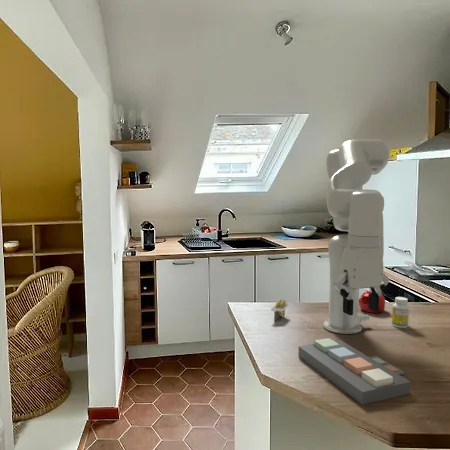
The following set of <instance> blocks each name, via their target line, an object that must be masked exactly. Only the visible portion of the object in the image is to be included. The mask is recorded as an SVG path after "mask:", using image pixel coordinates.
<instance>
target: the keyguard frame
mask: <svg viewBox="0 0 450 450" xmlns="http://www.w3.org/2000/svg"><path fill="white" fill-rule="evenodd" d="M334 341H335V342H336V343H338V344H339V348H341V347H345V348H346V349H348V350H349V351H351V352H353V353H354V354H355V358H358V357H361V358H363V359H364V360H366V361H367V362H369V363H371V364H372V365H373V369H377V368H379V369H381V370H382V371H384V372H385V373H387V374H389V375H390V376H392V377H393V384H391V385H386V386H382V387H377V388H375V387H373V386H372V385H370V384H369V383H368V382H366V381H365V380H363V379H362V374H358V375H356V374H354V373H353V372H351V371H350V370H348V369H347V368H345V367H344V362H343V363H338V362H336V361H335V360H334V359H332V358H331V357H329V356H328V352H326V353H323V352H322V351H320V350H319V349H317V348H316V347H314V343H311V344H310V343H309V344H303V345H298V354H297V355H298V357H299V358H300V359H301V360H302V361H304V362H305V363H306V364H308V365H309V366H310V367H312V368H313V369H315V371H318V373H320V374H321V375H322V376H324V377H325V378H326V379H328V380H329V381H330V382H332V383H333V384H334V385H336V386H337V387H338V388H339V389H341V390H342V392H344V393H346V394H347V395H349V396H350V397H351V398H352V399H354V400H355V401H356V402H358V403H360V404H361V405H366V404H370V403H371V404H372V403H374V402H375V403H376V402H380V401H383V400H387V399H393V398H397V397H401V396H406V395H410V394H411V381H410V380H409V379H407V378H405V377H403V375H398V374H397V373H395V372H393V371H392V370H390V369H388V368H387V367H385V366H383V365H381V364H380V363H378V362H376V361H375V360H373V359H371V358H370V357H371V356H368V355H366V354H364V353H363V352H361V351H359V350H358V349H356V348H354V347H353V346H351V345H350V344H348V343H346V342H344V341H343V340H340V339H335V340H334Z"/></svg>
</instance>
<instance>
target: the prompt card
mask: <svg viewBox="0 0 450 450" xmlns="http://www.w3.org/2000/svg"><path fill="white" fill-rule="evenodd" d="M369 357H370V358H371V359H373V360H375V361H376V362H378V363H380V364H381V365H383V366H385V367H387V368H388V369H390V370H392V371H393V372H395V373H397V374H398V375H400V376H403V375H405V374H406V371H405V370H404V371H403V370H402V369H400V368H399V367H397V366H395V365H394V364H391V363H390V362H389V361H386V360H384V359H382V357H379V356H377V355H374V356H369Z"/></svg>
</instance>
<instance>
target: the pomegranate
mask: <svg viewBox="0 0 450 450" xmlns="http://www.w3.org/2000/svg"><path fill="white" fill-rule="evenodd" d="M370 293H371V291H370V289H369V288H368V289H365V291H364V292H363V293H362V295H360V297H359V299H358V307H359V308H360V309H361V310H363V312H366V313H370V314H372V313H373V314H378V313H382V312H384V310H385V307H386V298H385V296H384V295H383V294H384V292H382V295H381V296H379V311H378V312H375V311H373V310H370V309H369V308H368V303H369V294H370Z"/></svg>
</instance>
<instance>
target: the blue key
mask: <svg viewBox="0 0 450 450" xmlns="http://www.w3.org/2000/svg"><path fill="white" fill-rule="evenodd" d="M328 356H329V357H331V358H332V359H334V360H335V361H336V362H338V363H343V362H344V360H347V359H352V358H355V354H354V353H353V352H351V351H349V350H348V349H346V348H345V347H341V348H335V349H329V350H328Z"/></svg>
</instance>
